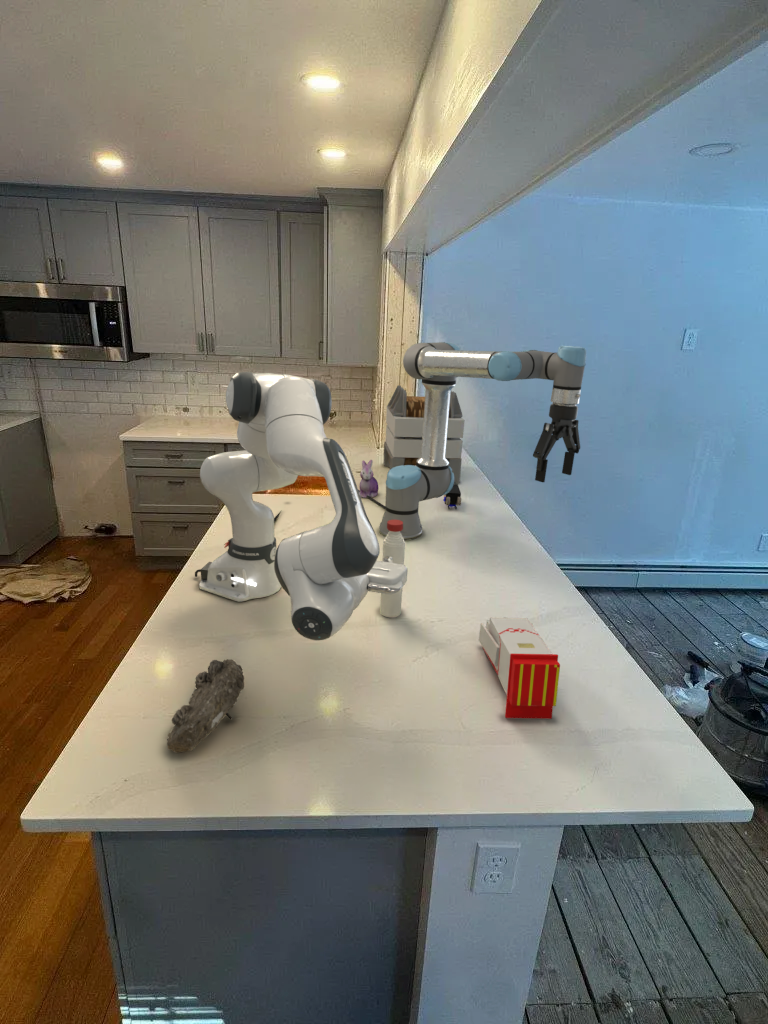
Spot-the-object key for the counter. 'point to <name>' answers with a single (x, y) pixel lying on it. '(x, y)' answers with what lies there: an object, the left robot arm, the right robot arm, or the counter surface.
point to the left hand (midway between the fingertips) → (367, 556)
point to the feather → (276, 517)
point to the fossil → (206, 705)
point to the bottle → (396, 549)
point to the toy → (522, 666)
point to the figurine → (368, 481)
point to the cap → (395, 525)
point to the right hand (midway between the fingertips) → (553, 477)
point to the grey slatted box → (419, 431)
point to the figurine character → (453, 497)
